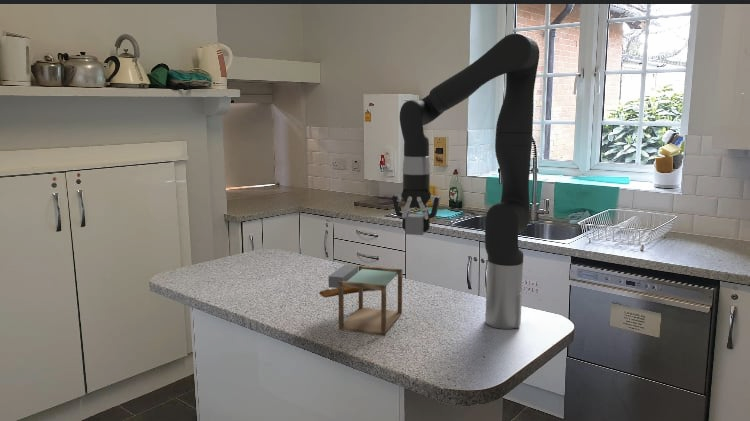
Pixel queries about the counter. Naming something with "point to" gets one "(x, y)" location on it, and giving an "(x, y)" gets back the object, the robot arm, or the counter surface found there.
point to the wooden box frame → (368, 317)
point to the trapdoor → (360, 276)
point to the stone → (414, 224)
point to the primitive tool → (336, 291)
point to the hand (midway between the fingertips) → (415, 231)
